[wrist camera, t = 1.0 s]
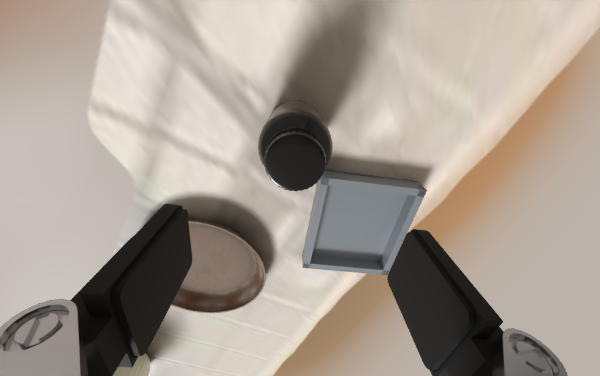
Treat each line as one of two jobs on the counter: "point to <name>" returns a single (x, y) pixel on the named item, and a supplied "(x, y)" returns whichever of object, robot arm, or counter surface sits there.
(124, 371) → the canister
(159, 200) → the counter surface
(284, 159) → the supplement bottle
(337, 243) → the tray
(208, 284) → the plant saucer
